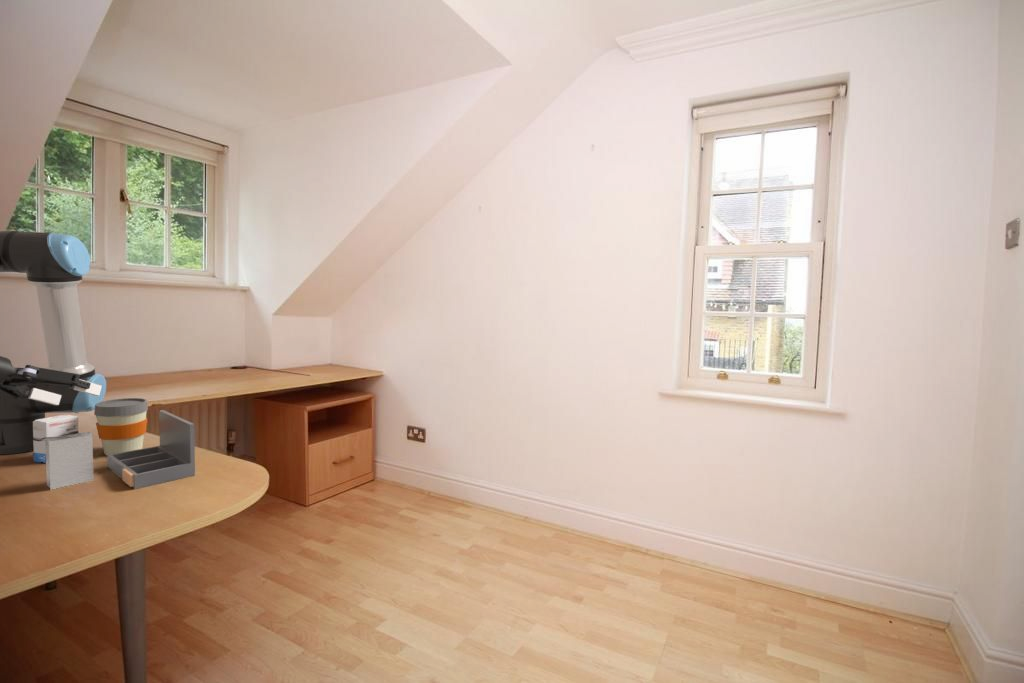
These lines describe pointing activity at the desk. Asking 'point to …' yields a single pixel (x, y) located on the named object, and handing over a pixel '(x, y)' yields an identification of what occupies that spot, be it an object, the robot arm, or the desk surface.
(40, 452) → the ink box
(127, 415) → the reusable coffee cup
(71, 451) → the brushed metal block
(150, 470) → the rack
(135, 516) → the desk surface
